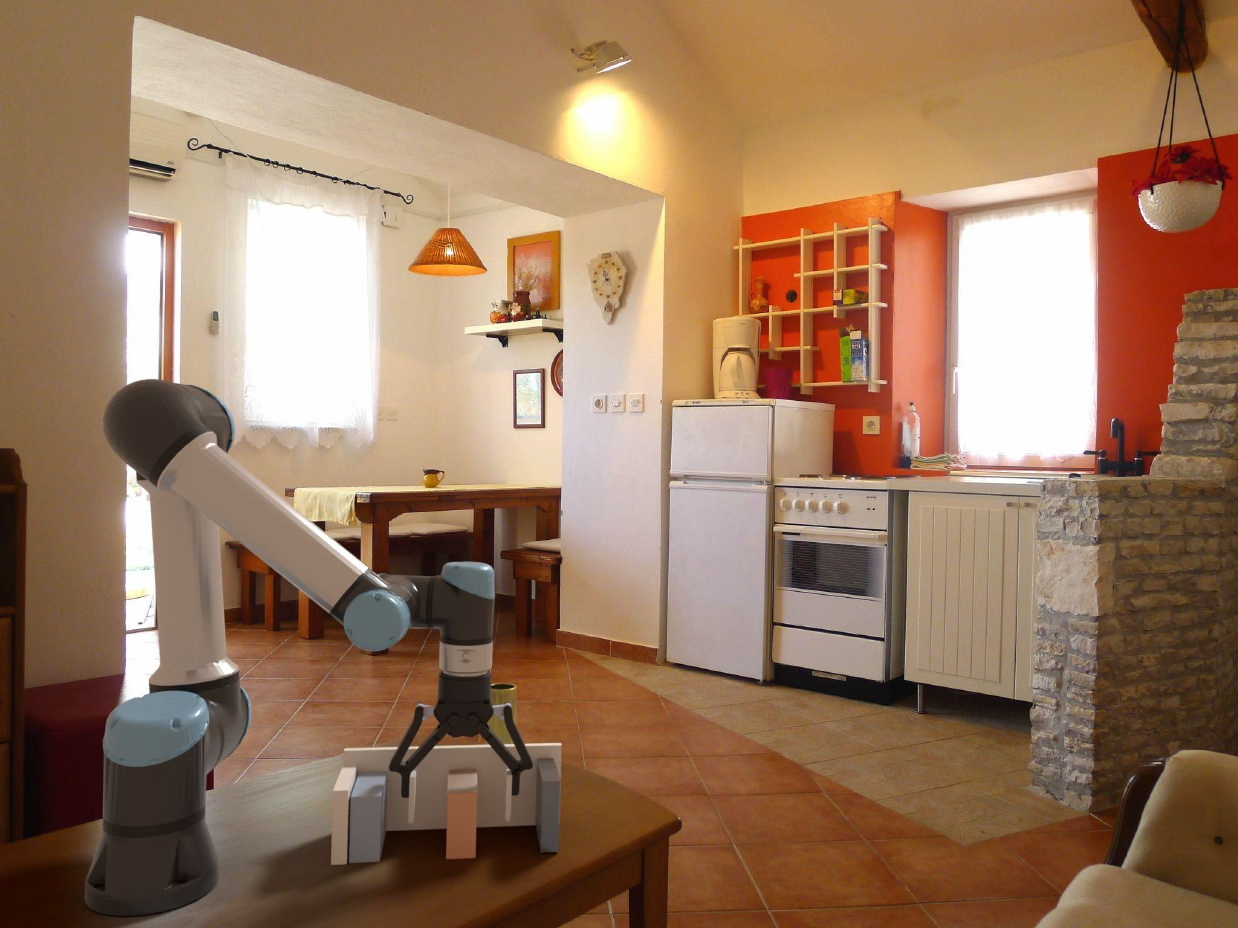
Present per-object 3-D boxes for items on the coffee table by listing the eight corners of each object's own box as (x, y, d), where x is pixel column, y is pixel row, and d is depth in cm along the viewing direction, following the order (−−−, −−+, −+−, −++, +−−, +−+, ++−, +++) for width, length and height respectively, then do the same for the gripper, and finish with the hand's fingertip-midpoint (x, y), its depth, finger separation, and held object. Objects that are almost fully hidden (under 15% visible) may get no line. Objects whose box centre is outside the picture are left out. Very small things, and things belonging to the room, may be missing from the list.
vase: (478, 769, 165) (480, 689, 165) (488, 758, 171) (490, 681, 171) (511, 771, 164) (513, 691, 164) (521, 761, 170) (522, 683, 170)
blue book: (349, 862, 126) (350, 796, 126) (357, 833, 136) (359, 772, 136) (379, 861, 127) (381, 795, 127) (385, 832, 136) (387, 771, 136)
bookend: (540, 852, 130) (542, 781, 130) (535, 824, 140) (537, 758, 140) (558, 851, 131) (560, 780, 131) (552, 823, 140) (553, 757, 140)
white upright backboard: (331, 864, 125) (333, 775, 125) (342, 829, 137) (344, 748, 137) (567, 854, 130) (569, 768, 130) (558, 820, 142) (560, 742, 142)
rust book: (445, 859, 128) (447, 793, 128) (447, 830, 138) (448, 769, 138) (475, 857, 129) (477, 792, 129) (475, 829, 138) (476, 769, 138)
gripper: (373, 676, 128) (367, 830, 128) (554, 676, 132) (548, 826, 132) (378, 664, 135) (373, 810, 135) (549, 664, 139) (544, 806, 139)
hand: (459, 818), depth 133 cm, fingers open, 13 cm apart
